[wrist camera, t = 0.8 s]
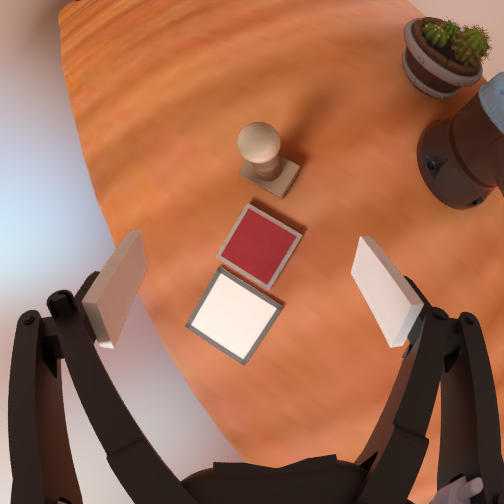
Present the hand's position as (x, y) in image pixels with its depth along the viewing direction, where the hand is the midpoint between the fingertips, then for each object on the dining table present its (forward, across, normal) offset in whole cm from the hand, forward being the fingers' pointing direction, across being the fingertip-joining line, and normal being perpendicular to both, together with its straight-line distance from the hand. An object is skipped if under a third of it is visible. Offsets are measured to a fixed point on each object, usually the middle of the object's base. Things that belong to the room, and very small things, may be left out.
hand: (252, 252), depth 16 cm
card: (+17, -1, -21) cm, 27 cm away
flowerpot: (+32, +33, +20) cm, 50 cm away
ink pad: (+21, +2, -11) cm, 24 cm away
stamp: (+26, +4, -2) cm, 27 cm away
